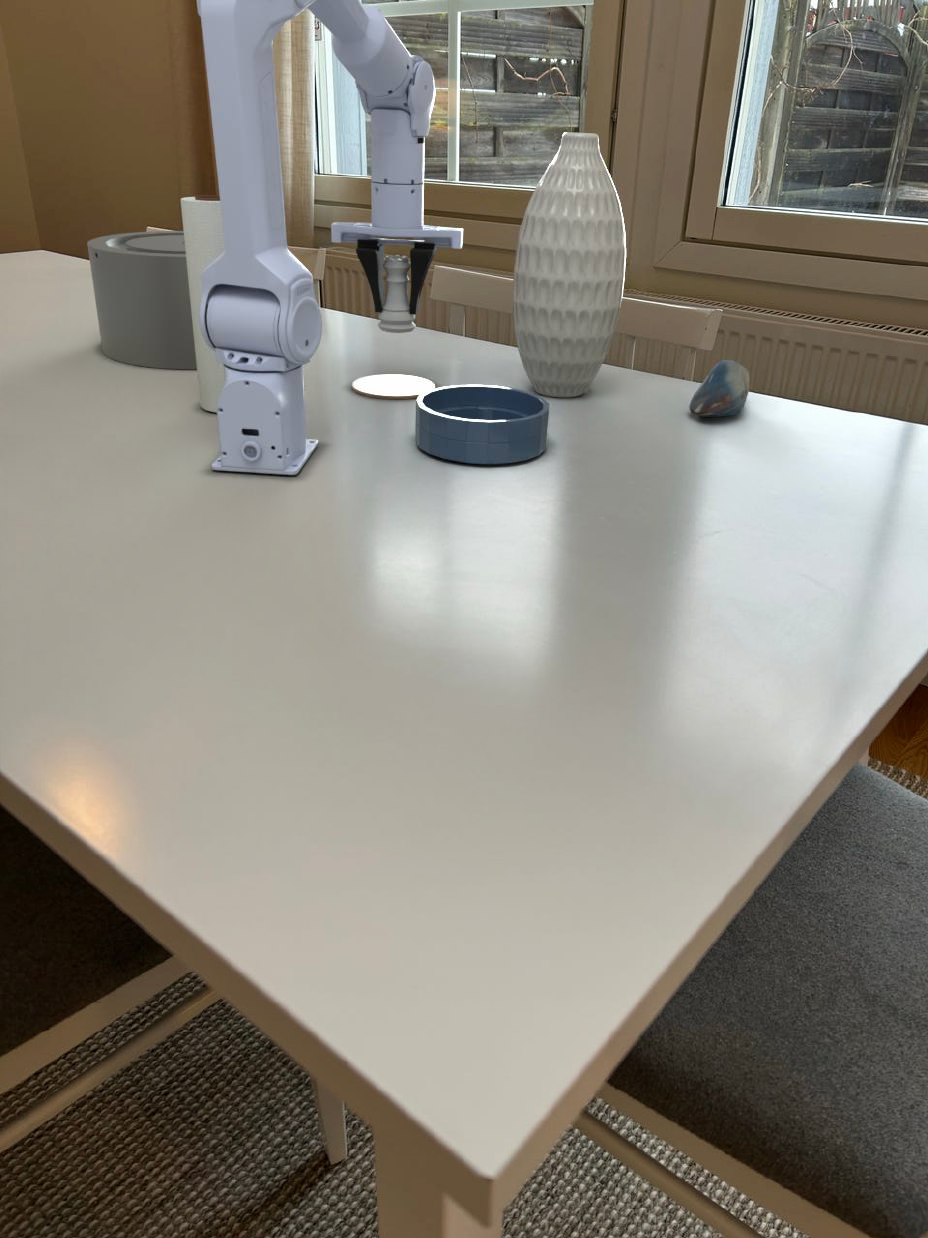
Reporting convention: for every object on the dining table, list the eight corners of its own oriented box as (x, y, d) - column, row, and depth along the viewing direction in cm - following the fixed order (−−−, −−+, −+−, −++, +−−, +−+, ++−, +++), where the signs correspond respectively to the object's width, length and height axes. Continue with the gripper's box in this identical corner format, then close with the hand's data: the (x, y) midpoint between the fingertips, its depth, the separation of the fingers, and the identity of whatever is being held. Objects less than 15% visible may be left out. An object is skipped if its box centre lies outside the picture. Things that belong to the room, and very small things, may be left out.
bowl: (545, 471, 90) (548, 425, 88) (407, 463, 91) (408, 417, 89) (546, 430, 102) (549, 388, 100) (424, 422, 103) (425, 381, 101)
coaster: (429, 401, 110) (429, 398, 110) (344, 396, 111) (344, 392, 111) (439, 379, 119) (439, 376, 119) (360, 375, 119) (360, 372, 119)
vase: (491, 381, 119) (503, 129, 106) (581, 375, 124) (604, 132, 110) (533, 408, 109) (553, 133, 96) (630, 401, 113) (662, 136, 100)
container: (72, 339, 130) (55, 236, 124) (234, 320, 145) (227, 227, 139) (154, 379, 114) (140, 262, 108) (327, 353, 129) (324, 249, 123)
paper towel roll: (194, 413, 102) (172, 197, 92) (208, 398, 108) (189, 192, 98) (261, 416, 103) (246, 200, 92) (271, 400, 108) (259, 195, 98)
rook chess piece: (410, 334, 108) (411, 260, 105) (372, 331, 109) (372, 257, 105) (420, 326, 112) (421, 255, 108) (383, 324, 113) (383, 252, 109)
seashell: (700, 403, 103) (775, 349, 103) (662, 391, 111) (731, 341, 111) (723, 450, 106) (796, 397, 106) (684, 434, 114) (751, 386, 114)
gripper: (467, 183, 106) (462, 308, 113) (339, 176, 107) (341, 301, 114) (461, 187, 100) (457, 320, 107) (325, 181, 101) (329, 313, 107)
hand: (397, 311), depth 110 cm, fingers closed on rook chess piece, 3 cm apart
